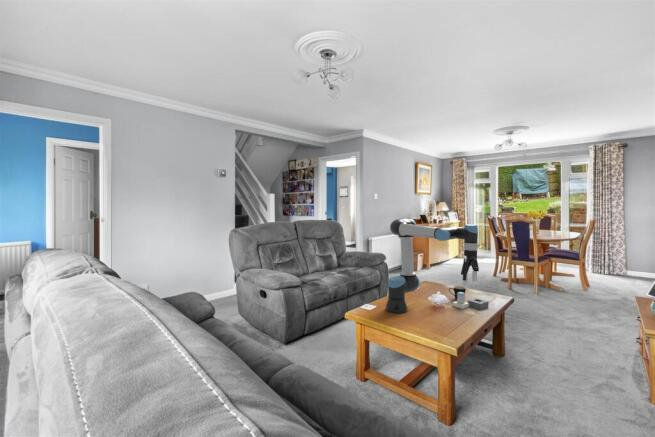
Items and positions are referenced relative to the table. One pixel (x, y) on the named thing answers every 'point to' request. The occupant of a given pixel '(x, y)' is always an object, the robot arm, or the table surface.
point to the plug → (461, 297)
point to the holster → (460, 305)
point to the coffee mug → (458, 290)
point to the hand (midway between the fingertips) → (469, 283)
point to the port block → (478, 303)
